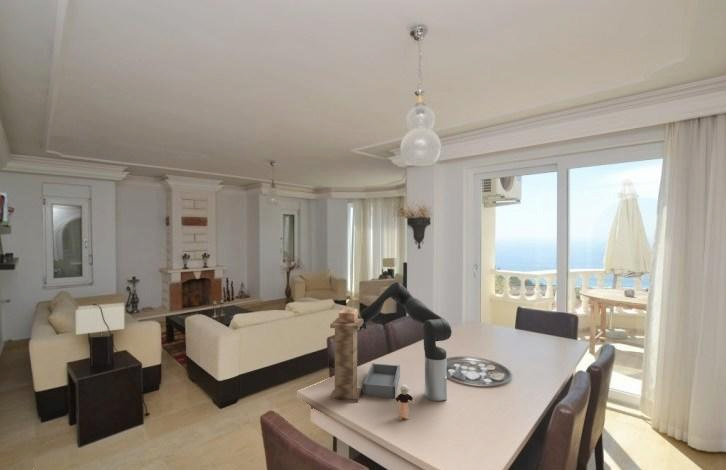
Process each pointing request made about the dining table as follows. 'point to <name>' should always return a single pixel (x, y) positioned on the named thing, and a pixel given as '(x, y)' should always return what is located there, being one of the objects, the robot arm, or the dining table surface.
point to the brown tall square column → (346, 361)
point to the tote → (382, 381)
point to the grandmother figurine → (403, 402)
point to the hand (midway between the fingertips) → (351, 328)
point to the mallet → (348, 315)
